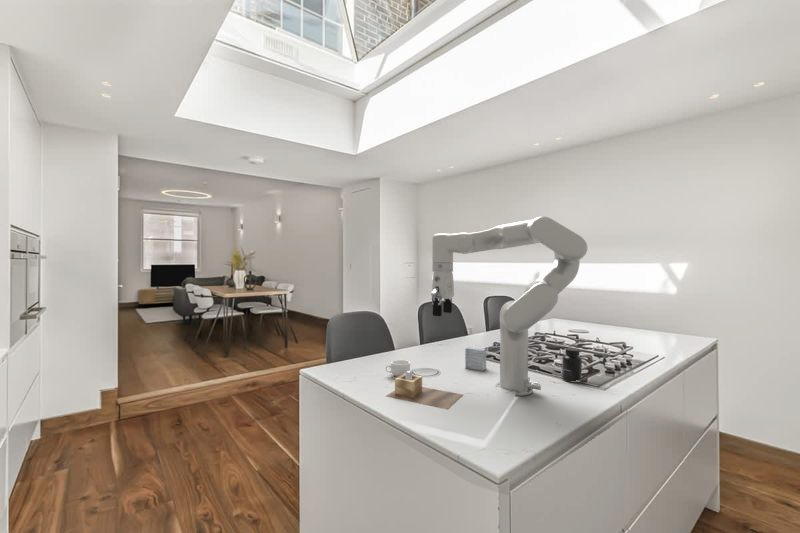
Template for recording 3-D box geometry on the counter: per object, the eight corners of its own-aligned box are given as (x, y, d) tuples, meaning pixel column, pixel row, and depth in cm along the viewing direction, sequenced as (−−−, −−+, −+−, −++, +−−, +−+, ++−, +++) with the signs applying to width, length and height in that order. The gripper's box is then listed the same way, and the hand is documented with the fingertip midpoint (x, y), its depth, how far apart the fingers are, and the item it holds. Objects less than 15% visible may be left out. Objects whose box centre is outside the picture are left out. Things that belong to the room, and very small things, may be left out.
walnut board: (463, 399, 124) (463, 394, 124) (447, 414, 112) (447, 409, 112) (405, 387, 135) (405, 383, 135) (385, 400, 122) (385, 396, 122)
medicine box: (486, 368, 159) (486, 348, 159) (482, 371, 155) (482, 350, 155) (469, 365, 163) (469, 346, 163) (465, 368, 159) (465, 348, 159)
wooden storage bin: (422, 390, 127) (422, 376, 127) (413, 397, 121) (413, 382, 121) (404, 387, 131) (404, 373, 131) (395, 393, 125) (395, 378, 125)
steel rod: (413, 391, 127) (413, 370, 126) (410, 393, 124) (410, 372, 124) (407, 390, 128) (407, 369, 128) (403, 392, 126) (403, 371, 126)
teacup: (407, 372, 154) (407, 359, 154) (412, 377, 146) (412, 364, 146) (383, 373, 151) (383, 360, 151) (387, 379, 144) (387, 366, 144)
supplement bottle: (562, 381, 142) (562, 350, 141) (561, 376, 148) (562, 346, 148) (582, 384, 139) (582, 352, 139) (580, 378, 145) (581, 348, 145)
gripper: (443, 268, 127) (442, 318, 128) (460, 267, 142) (460, 312, 143) (423, 267, 131) (423, 316, 131) (442, 267, 146) (442, 310, 146)
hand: (442, 314), depth 137 cm, fingers open, 9 cm apart
